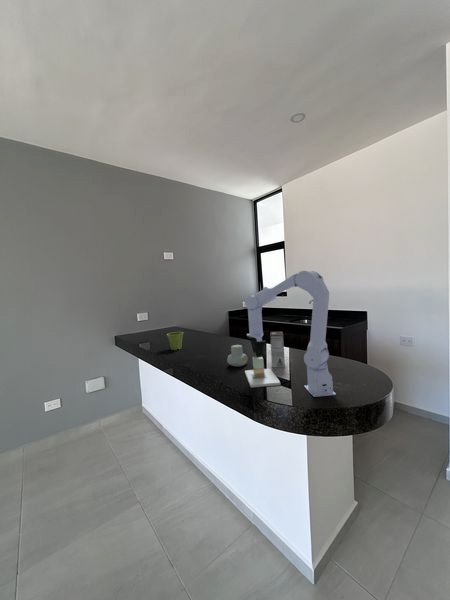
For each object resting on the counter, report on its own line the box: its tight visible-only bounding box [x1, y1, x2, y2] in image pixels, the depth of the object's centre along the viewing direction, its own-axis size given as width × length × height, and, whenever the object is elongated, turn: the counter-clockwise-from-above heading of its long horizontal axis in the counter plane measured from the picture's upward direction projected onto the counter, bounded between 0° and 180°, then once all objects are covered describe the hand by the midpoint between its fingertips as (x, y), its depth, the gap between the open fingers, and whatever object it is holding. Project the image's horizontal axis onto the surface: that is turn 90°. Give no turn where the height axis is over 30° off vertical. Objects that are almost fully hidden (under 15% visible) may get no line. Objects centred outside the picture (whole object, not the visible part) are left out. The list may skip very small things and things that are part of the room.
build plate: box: [244, 368, 281, 388], centre depth 108 cm, size 18×12×1 cm, turn 3°
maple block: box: [252, 367, 265, 378], centre depth 108 cm, size 4×4×4 cm
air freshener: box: [226, 344, 249, 367], centre depth 130 cm, size 11×8×10 cm
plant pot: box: [166, 331, 184, 351], centre depth 177 cm, size 12×12×11 cm
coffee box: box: [269, 331, 286, 368], centre depth 126 cm, size 9×6×16 cm
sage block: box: [252, 356, 265, 369], centre depth 108 cm, size 4×4×4 cm
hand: (257, 354), depth 108 cm, fingers open, 7 cm apart
